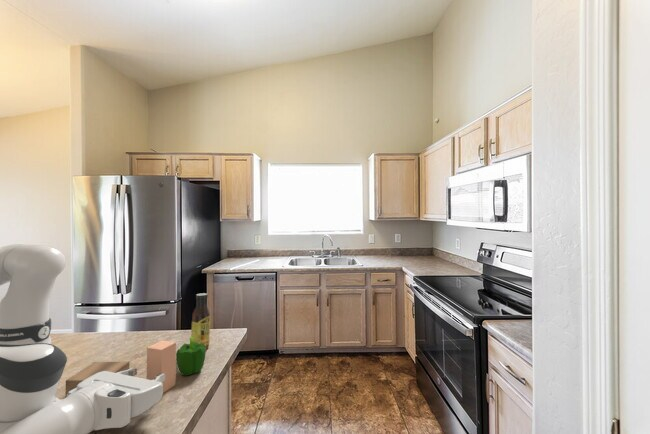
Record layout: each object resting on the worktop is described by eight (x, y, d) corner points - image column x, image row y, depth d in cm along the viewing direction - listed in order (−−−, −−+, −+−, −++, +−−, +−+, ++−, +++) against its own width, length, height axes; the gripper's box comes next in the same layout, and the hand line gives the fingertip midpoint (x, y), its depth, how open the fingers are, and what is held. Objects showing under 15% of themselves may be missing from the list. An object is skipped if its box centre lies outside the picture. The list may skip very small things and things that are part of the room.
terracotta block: (161, 394, 78) (161, 349, 78) (146, 391, 79) (147, 347, 79) (175, 384, 83) (175, 342, 83) (161, 381, 84) (162, 340, 84)
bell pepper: (200, 378, 86) (200, 344, 86) (171, 379, 85) (172, 345, 86) (209, 364, 94) (209, 333, 95) (183, 365, 94) (183, 334, 94)
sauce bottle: (202, 353, 102) (203, 297, 103) (187, 351, 103) (187, 296, 104) (213, 345, 109) (213, 292, 109) (198, 344, 110) (198, 291, 110)
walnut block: (65, 399, 75) (65, 380, 75) (94, 379, 85) (95, 361, 85) (104, 399, 76) (104, 380, 76) (129, 378, 86) (129, 361, 86)
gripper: (60, 410, 66) (118, 379, 79) (129, 429, 60) (179, 391, 74) (61, 382, 66) (119, 356, 80) (129, 398, 61) (180, 366, 74)
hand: (148, 373), depth 77 cm, fingers open, 8 cm apart
